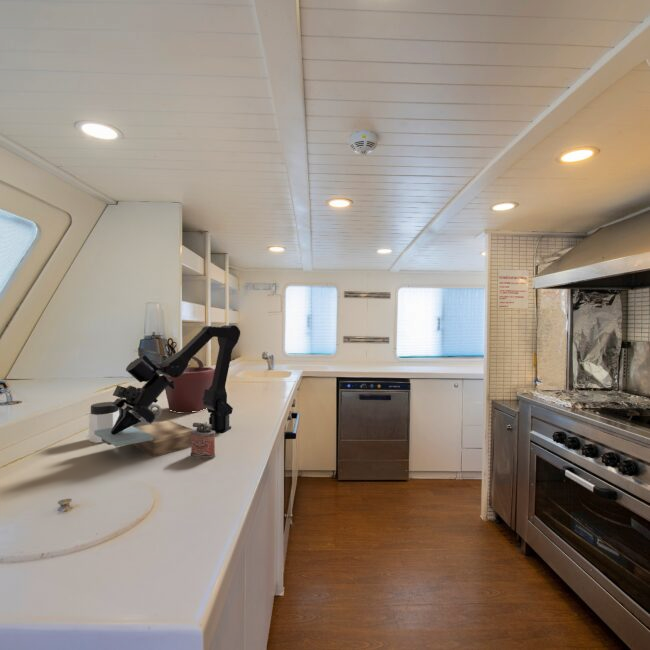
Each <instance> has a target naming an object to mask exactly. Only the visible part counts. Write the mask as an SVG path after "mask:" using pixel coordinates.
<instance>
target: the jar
mask: <svg viewBox="0 0 650 650" xmlns="http://www.w3.org/2000/svg"><path fill="white" fill-rule="evenodd" d="M113 402H114V401H103V402H96V403H93V404H91V405H90V413H88V441H89V442H91V443H95V444H101V443H104V442H103V441H102V438H100V437H98V436H97V435H95V434H94V430H99V429H106V428H112V427H114V425H115V423H116V421H117V419H118V417H119V409H118V407H117V406H115V405H114V404H113Z"/></svg>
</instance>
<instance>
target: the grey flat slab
mask: <svg viewBox="0 0 650 650" xmlns="http://www.w3.org/2000/svg"><path fill="white" fill-rule="evenodd" d="M112 428H113V427H112ZM112 428H106V429H99V430H94V434H95V435H97V436H98V437H100V438H102V441H103V442H102V443H105V444H107V445H108V446H110V445H112V446H114V447H115V448H117V447H123V446H128V445H132V444H134V443H139V442H144V441H150V440H153V435H150V434H148V433H146V432H144V431H142V430H139V429H137V428H135V427H133V426H130V427H128V428H126V429H124V430H123V431H121V432H119V433H117V434H115V435H113V434H111V430H112Z"/></svg>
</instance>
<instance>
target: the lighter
mask: <svg viewBox="0 0 650 650" xmlns="http://www.w3.org/2000/svg"><path fill="white" fill-rule="evenodd" d="M192 427H193V428H194V430H191V447H190V449H191V450H190V458H194V457H196V459H200V458H203V460H213V459H215V458H216V450H215V449H216V441H215V438H216V437H215V435H216V432H215V431H212V430H211V424H209V423H208V422H207V421H204V422H196V421H194V422H192ZM195 428H196V429H195ZM214 457H215V458H214ZM212 458H213V459H212Z"/></svg>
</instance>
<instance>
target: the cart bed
mask: <svg viewBox="0 0 650 650" xmlns="http://www.w3.org/2000/svg"><path fill="white" fill-rule="evenodd" d="M135 428H137V429H139V430H142V431H144V432H146V433H148V434H150V435H153V440H150V441H144V442H139V443H134V444H131V446H134V447H136V448H138V449H139V450H141V451H142V452H145V453H147V454H148V455H150V456H153V457H158V456H161V454H162V455H165V454H168V453H172V451H173V452H176V451H180V450H183V448H184V449H187V448H191V447H190V446H191V430H194V429H195V428H194V429H193V428H190V427H188V426H185V425H182V424H180V423H177V422H174V421H171V420H166V421H160V422H156V423H151V424H150V425H145V426H140V427H135ZM164 453H165V454H164ZM157 455H158V456H157Z"/></svg>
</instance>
